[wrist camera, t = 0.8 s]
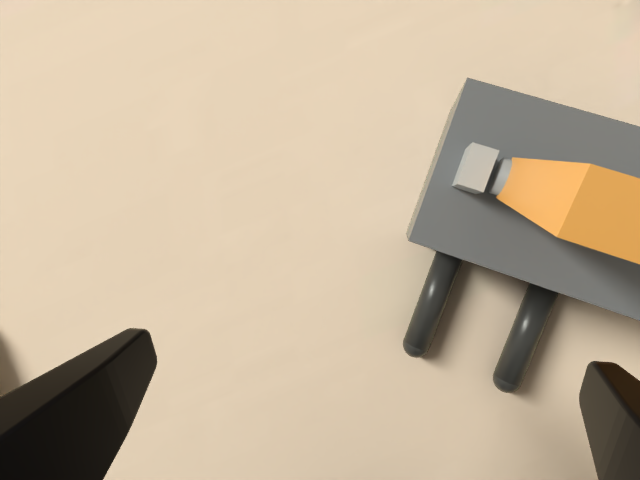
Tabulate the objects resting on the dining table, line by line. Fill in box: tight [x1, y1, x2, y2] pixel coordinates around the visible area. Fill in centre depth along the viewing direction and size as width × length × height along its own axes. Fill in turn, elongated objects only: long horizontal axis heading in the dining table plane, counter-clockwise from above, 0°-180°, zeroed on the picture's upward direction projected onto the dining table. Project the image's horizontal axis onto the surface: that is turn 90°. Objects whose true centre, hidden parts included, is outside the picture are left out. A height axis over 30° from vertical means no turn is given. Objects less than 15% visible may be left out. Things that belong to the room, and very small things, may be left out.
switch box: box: [403, 78, 640, 393], centre depth 20 cm, size 13×10×8 cm
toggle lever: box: [489, 157, 640, 264], centre depth 13 cm, size 2×6×9 cm, turn 71°
